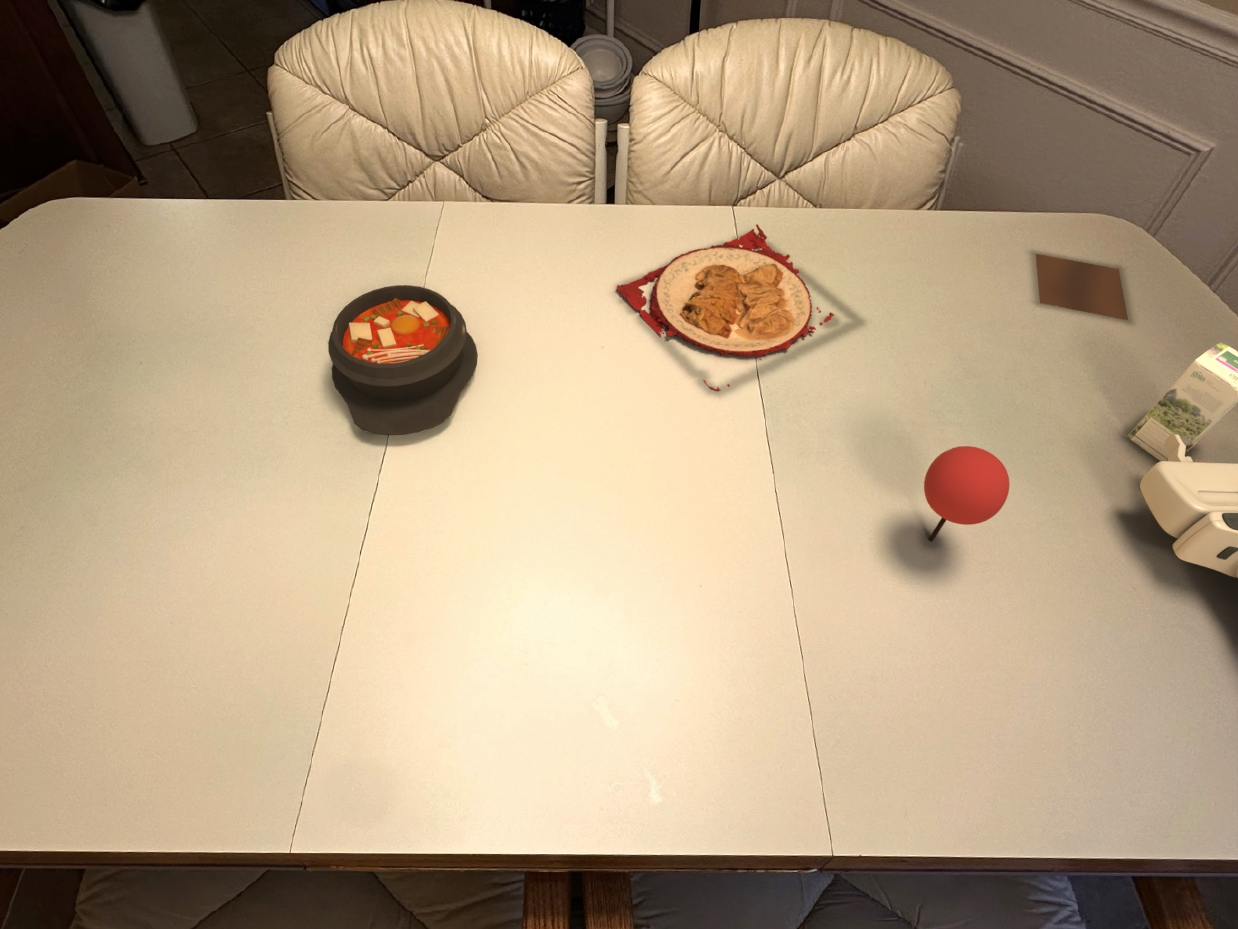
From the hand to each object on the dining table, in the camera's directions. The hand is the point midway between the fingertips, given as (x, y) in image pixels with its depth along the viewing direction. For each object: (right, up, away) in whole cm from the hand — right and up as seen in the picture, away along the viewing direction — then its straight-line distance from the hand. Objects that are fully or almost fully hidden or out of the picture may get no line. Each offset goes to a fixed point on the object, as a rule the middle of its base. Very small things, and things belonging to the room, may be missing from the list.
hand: (1216, 438), depth 83 cm
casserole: (-95, +9, +15) cm, 96 cm away
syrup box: (0, -1, +10) cm, 10 cm away
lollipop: (-33, -12, 0) cm, 35 cm away
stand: (+1, +23, +28) cm, 36 cm away
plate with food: (-50, +19, +23) cm, 59 cm away
